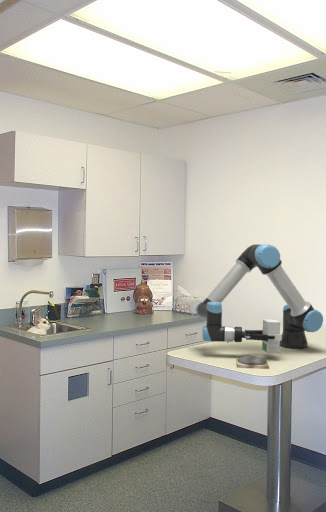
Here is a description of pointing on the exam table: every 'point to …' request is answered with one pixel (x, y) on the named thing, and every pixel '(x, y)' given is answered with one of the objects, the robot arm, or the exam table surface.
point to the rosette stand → (252, 362)
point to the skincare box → (271, 328)
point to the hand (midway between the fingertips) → (280, 335)
